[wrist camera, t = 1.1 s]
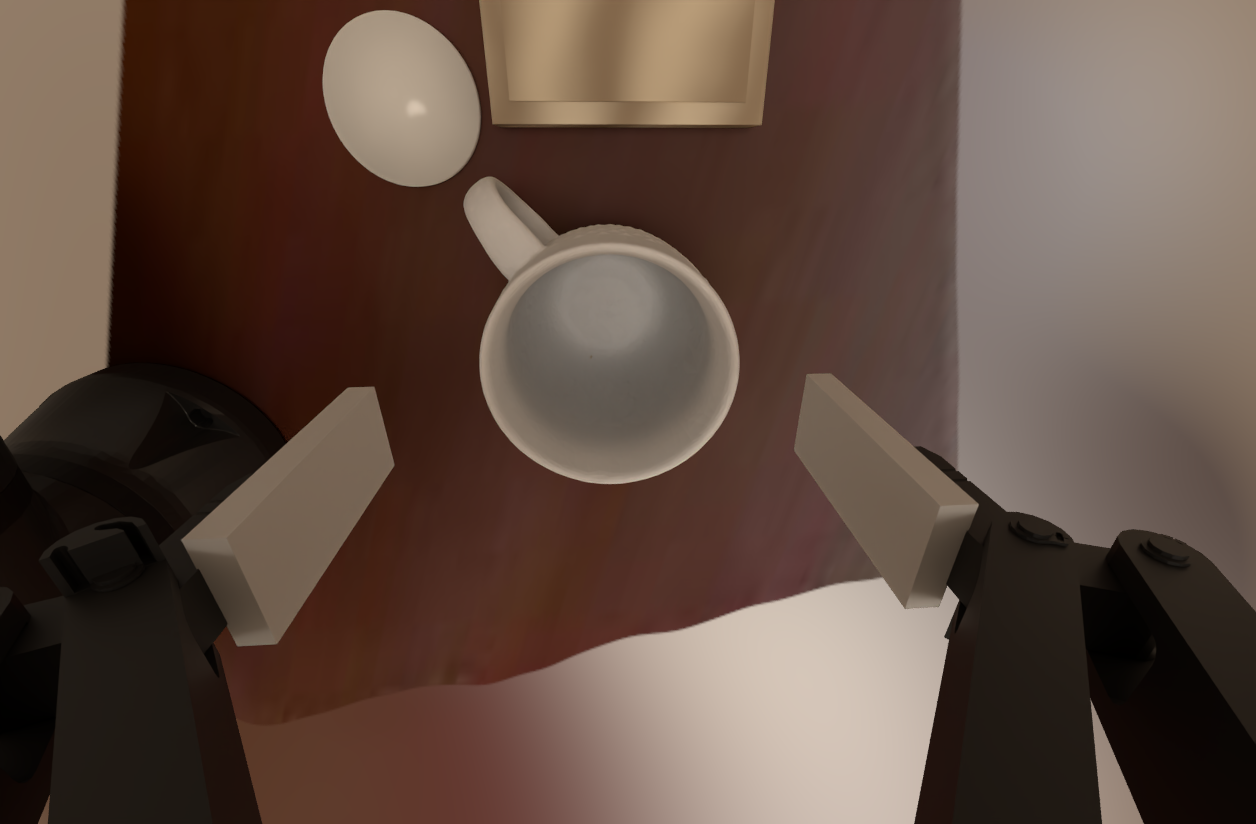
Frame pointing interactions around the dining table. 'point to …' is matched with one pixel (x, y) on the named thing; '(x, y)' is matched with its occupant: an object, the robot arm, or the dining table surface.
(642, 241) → the mug
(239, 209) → the dining table surface
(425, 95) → the white oval dome
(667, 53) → the base
